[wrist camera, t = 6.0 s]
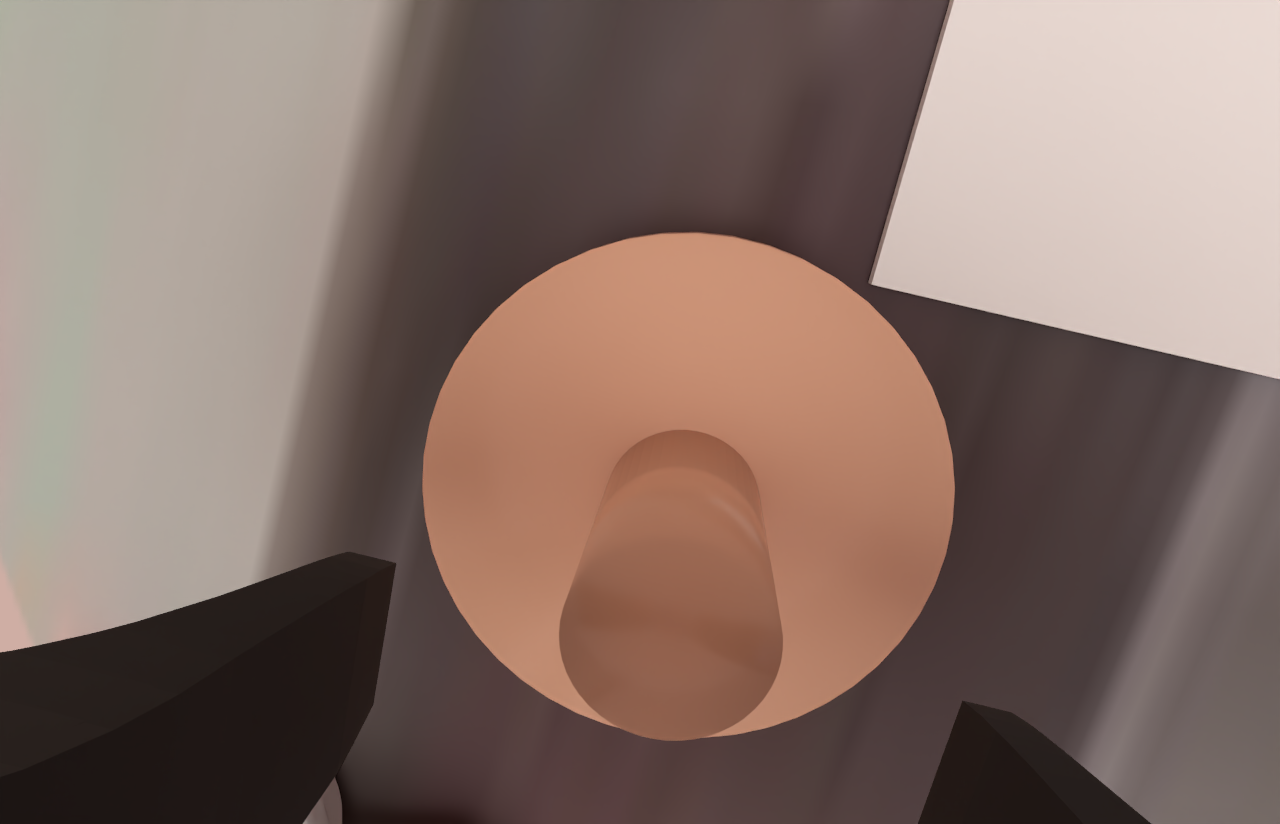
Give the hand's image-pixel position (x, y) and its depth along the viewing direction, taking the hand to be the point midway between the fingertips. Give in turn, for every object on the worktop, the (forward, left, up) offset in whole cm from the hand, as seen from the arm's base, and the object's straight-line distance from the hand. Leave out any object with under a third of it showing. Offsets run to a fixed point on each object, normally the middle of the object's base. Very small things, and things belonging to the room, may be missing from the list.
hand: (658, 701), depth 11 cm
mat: (-9, -10, -10) cm, 17 cm away
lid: (0, -1, -6) cm, 6 cm away
